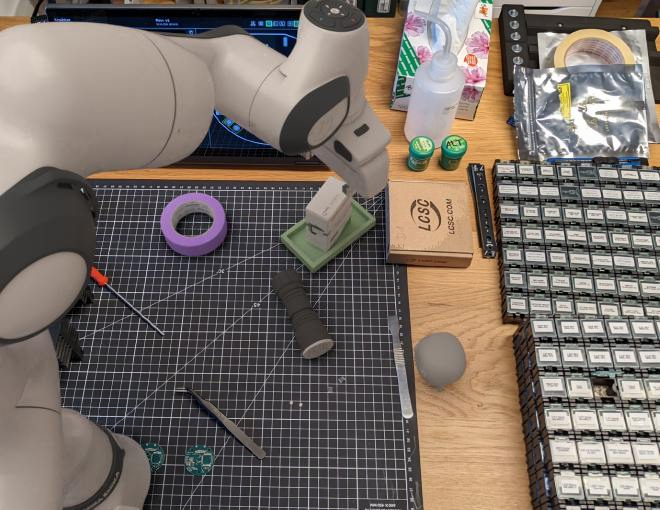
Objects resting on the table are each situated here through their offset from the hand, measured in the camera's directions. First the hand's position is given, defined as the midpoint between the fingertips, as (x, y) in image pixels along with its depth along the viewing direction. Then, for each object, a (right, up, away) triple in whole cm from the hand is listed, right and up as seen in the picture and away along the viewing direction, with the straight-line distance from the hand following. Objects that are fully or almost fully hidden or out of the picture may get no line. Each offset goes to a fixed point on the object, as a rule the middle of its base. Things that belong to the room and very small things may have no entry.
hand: (327, 173), depth 94 cm
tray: (0, -8, +22) cm, 23 cm away
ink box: (0, -8, +21) cm, 23 cm away
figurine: (+17, -33, +8) cm, 38 cm away
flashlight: (-4, -24, +13) cm, 27 cm away
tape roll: (-25, -8, +22) cm, 34 cm away
